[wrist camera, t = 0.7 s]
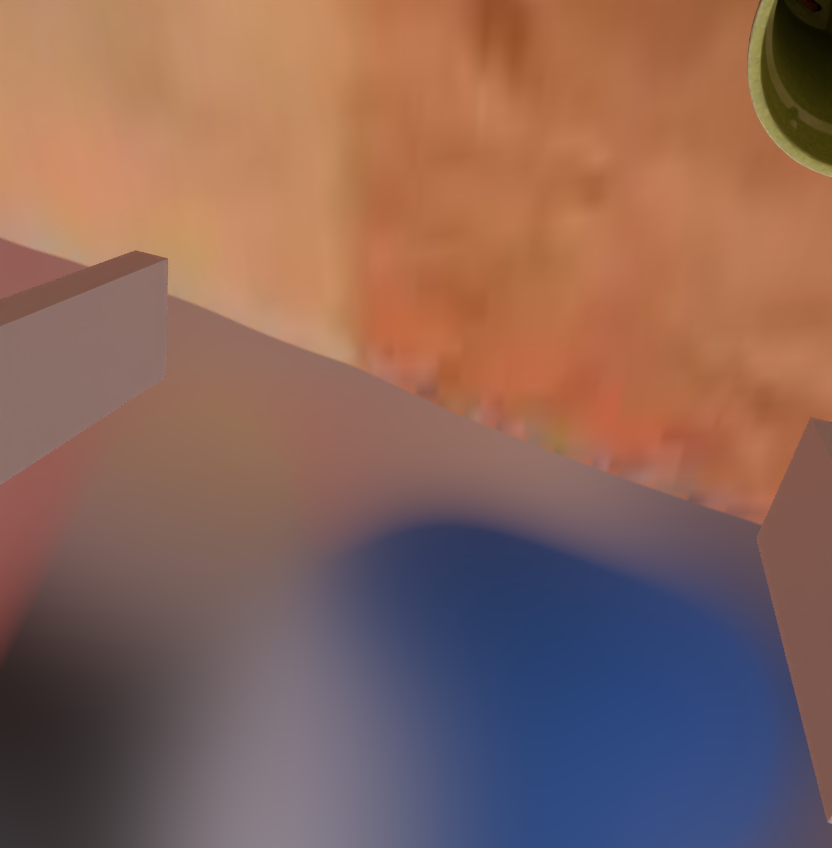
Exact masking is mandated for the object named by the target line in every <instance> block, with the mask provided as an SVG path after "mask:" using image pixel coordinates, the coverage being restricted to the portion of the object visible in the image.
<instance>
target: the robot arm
mask: <svg viewBox="0 0 832 848" xmlns="http://www.w3.org/2000/svg"><path fill="white" fill-rule="evenodd" d="M167 285H168V258H164V257H160V256H156V255H152V254H148V253H144V252H140V251H136V250H135V251H133V252H130V253H127V254H124V255H122V256H119V257H116V258H113V259H111V260H108V261H105V262H102V263H99V264H97V265H94V266H91V267H88V268H86V269H83V270H80V271H77V272H75V273H72V274H70V275H66V276H64V277H61V278H58V279H56V280H53V281H50V282H47V283H45V284H42V285H39V286H36V287H33V288H31V289H28V290H25V291H23V292H20V293H17V294H14V295H11V296H9V297H6V298H3V299H0V485H1V484H2V483H4V482H5V481H7V480H8V479H10V478H12V477H13V476H14V475H16V474H18V473H19V472H21V471H22V470H24V469H25V468H27V467H28V466H30V465H31V464H33V463H35V462H36V461H37V460H39V459H41V458H42V457H44V456H45V455H47V454H48V453H50V452H51V451H53V450H54V449H56V448H57V447H59V446H61V445H62V444H64V443H65V442H67V441H68V440H70V439H71V438H73V437H74V436H75V435H77V434H79V433H80V432H82V431H83V430H85V429H86V428H88V427H90V426H91V425H93V424H94V423H96V422H97V421H99V420H100V419H102V418H103V417H105V416H106V415H108V414H110V413H111V412H113V411H114V410H116V409H117V408H119V407H120V406H122V405H123V404H125V403H126V402H128V401H129V400H131V399H132V398H134V397H135V396H137V395H139V394H140V393H142V392H143V391H145V390H146V389H148V388H149V387H151V386H152V385H154V384H155V383H157V382H158V381H160V380H162V379H163V378H165V377H166V343H167V340H166V339H167ZM757 542H758V546H759V549H760V554H761V558H762V562H763V566H764V570H765V574H766V578H767V582H768V586H769V590H770V594H771V598H772V602H773V606H774V610H775V614H776V618H777V622H778V626H779V630H780V634H781V638H782V642H783V646H784V650H785V654H786V658H787V662H788V666H789V670H790V674H791V678H792V682H793V686H794V690H795V694H796V698H797V702H798V706H799V710H800V714H801V718H802V722H803V726H804V730H805V734H806V738H807V742H808V746H809V750H810V754H811V758H812V762H813V766H814V770H815V774H816V778H817V782H818V786H819V790H820V794H821V798H822V802H823V806H824V810H825V814H826V818H827V822H828V823H831V824H832V422H828V421H824V420H820V419H816V418H812V417H810V420H809V422H808V424H807V426H806V428H805V431H804V433H803V435H802V437H801V440H800V442H799V444H798V446H797V449H796V451H795V453H794V455H793V458H792V460H791V462H790V464H789V467H788V469H787V471H786V473H785V476H784V478H783V480H782V482H781V485H780V487H779V489H778V491H777V494H776V496H775V498H774V500H773V503H772V505H771V507H770V509H769V512H768V514H767V516H766V518H765V520H764V523H763V525H762V527H761V530H760V532H759V534H758V536H757Z"/></svg>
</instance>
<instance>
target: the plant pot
mask: <svg viewBox="0 0 832 848" xmlns="http://www.w3.org/2000/svg"><path fill="white" fill-rule="evenodd" d="M814 1H815V2H816V3H818V4H819V5H820V6H821V7H822V8H821V10H820V11H816V12H812V11H810V10H809V9H808V8H806V7H805V5H804V4H803V3H802V2H800V1H799V0H760V2H759V5H758V8H757V11H756V14H755V17H754V20H753V24H752V29H751V33H750V38H749V46H748V58H747V71H748V82H749V90H750V94H751V98H752V102H753V106H754V108H755V111H756V114H757V116H758V118H759V120H760V122H761V124H762V125H763V127H764V129H765V130H766V132H767V133H768V135H769V136H770V137H771V139H772V140H773V141H774V142H775V143H776V144H777V146H778V147H780V148H781V149H782V150H783V151H784V152H785V153H786V154H787V155H788V156H789V157H791V158H792V159H793V160H795V161H796V162H798V163H800V164H801V165H803V166H805V167H807V168H809V169H811V170H813V171H815V172H818V173H821V174H823V175H826V176H830V177H832V0H814Z"/></svg>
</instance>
